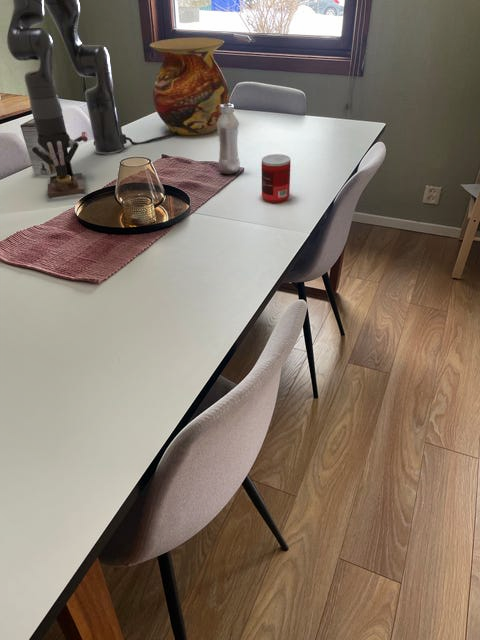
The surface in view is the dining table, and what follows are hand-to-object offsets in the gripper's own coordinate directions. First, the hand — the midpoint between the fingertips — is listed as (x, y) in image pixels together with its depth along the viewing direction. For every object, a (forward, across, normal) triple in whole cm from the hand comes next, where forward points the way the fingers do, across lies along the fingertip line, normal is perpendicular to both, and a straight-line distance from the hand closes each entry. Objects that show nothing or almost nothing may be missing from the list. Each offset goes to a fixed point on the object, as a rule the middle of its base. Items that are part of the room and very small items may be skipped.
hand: (63, 177), depth 143 cm
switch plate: (+5, 0, 0) cm, 5 cm away
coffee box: (+5, -5, +21) cm, 22 cm away
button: (+2, 0, 0) cm, 2 cm away
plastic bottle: (+5, +49, -1) cm, 50 cm away
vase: (+5, +50, +52) cm, 72 cm away
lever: (-5, +4, +9) cm, 11 cm away
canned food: (+5, +56, -25) cm, 62 cm away
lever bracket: (+5, 0, +9) cm, 10 cm away
